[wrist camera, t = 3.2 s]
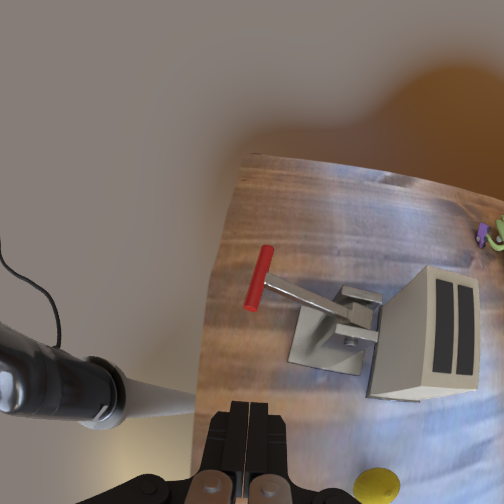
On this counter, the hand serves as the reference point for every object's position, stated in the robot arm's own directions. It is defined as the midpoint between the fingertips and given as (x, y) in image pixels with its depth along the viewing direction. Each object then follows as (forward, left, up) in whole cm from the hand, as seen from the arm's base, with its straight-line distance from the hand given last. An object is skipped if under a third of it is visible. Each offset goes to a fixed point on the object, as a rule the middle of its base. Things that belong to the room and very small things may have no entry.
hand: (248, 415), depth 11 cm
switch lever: (+3, +11, -14) cm, 18 cm away
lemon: (+18, -8, -26) cm, 32 cm away
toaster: (+19, +11, -25) cm, 34 cm away
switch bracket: (+8, +11, -25) cm, 29 cm away
